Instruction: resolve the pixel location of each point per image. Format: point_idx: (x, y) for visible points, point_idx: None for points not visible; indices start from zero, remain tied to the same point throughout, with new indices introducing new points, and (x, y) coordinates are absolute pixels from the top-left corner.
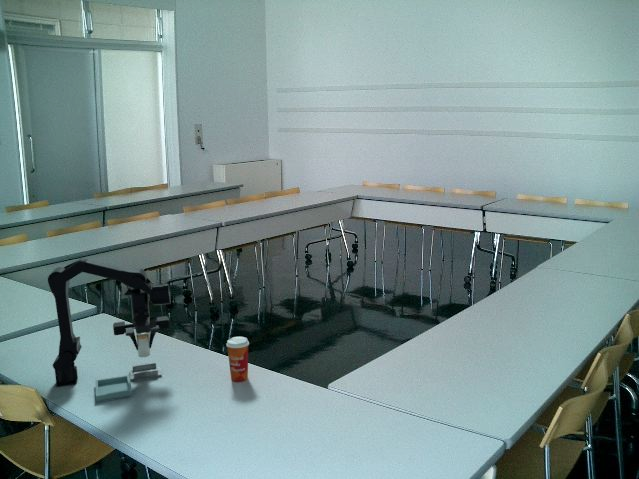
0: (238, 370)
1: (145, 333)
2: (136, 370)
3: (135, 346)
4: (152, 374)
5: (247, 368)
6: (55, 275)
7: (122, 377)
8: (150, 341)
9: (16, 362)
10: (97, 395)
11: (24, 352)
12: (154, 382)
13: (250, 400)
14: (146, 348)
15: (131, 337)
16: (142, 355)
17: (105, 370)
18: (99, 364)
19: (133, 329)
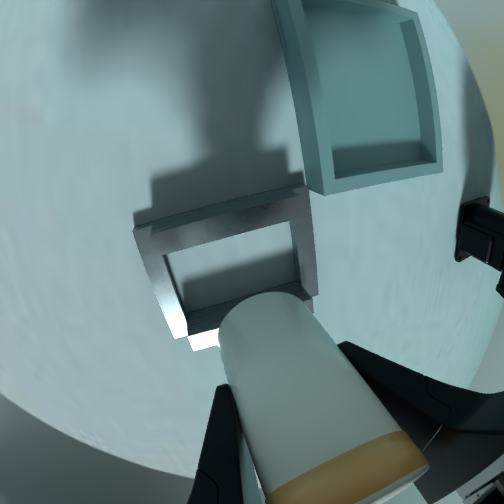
0: None
1: None
2: (285, 291)
3: (378, 357)
4: (185, 218)
5: None
6: None
7: (354, 174)
8: (228, 445)
9: (488, 329)
10: (413, 14)
11: (469, 366)
12: (164, 145)
13: None
14: (260, 359)
15: (481, 400)
16: (282, 300)
17: (389, 307)
18: (395, 347)
19: (499, 488)
